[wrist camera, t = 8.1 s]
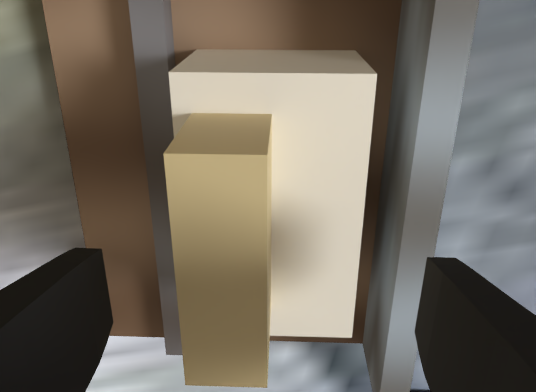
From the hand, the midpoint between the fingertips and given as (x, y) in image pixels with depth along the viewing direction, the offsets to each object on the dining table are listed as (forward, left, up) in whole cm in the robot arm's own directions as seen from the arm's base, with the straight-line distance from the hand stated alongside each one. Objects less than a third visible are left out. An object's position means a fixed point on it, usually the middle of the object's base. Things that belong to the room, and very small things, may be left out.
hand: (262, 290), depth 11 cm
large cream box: (0, 0, -7) cm, 7 cm away
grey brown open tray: (0, +1, -8) cm, 8 cm away
